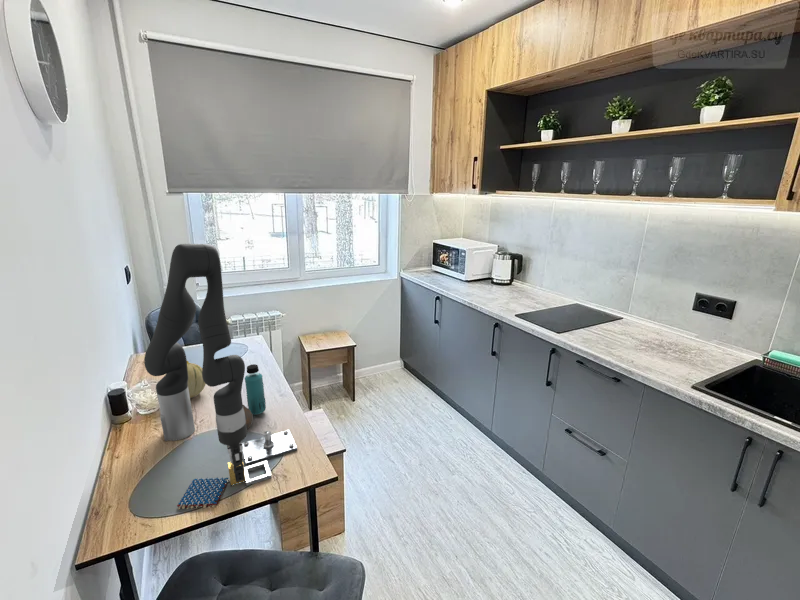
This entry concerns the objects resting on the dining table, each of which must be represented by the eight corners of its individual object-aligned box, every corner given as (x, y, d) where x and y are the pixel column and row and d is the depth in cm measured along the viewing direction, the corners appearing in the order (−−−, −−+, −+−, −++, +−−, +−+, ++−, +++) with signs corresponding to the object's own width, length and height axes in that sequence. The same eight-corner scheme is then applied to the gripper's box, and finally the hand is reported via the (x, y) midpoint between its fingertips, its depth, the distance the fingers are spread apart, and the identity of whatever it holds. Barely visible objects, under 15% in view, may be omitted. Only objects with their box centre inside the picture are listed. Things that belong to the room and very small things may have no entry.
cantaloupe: (165, 409, 149) (159, 374, 144) (170, 391, 161) (164, 359, 157) (208, 401, 154) (203, 367, 150) (209, 384, 167) (204, 353, 163)
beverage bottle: (260, 419, 143) (255, 370, 137) (244, 417, 144) (239, 369, 139) (269, 409, 149) (265, 363, 144) (254, 407, 150) (249, 361, 145)
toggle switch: (245, 465, 119) (243, 449, 117) (241, 445, 128) (239, 430, 127) (297, 450, 127) (296, 434, 125) (289, 432, 136) (288, 417, 134)
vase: (234, 435, 134) (231, 413, 131) (232, 424, 140) (229, 403, 137) (254, 430, 137) (252, 408, 134) (252, 420, 143) (249, 399, 140)
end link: (231, 491, 109) (229, 473, 108) (229, 475, 115) (226, 458, 113) (271, 477, 114) (269, 461, 113) (267, 463, 120) (265, 447, 119)
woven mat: (193, 482, 113) (192, 477, 112) (230, 481, 114) (229, 475, 113) (175, 511, 103) (174, 505, 102) (216, 509, 104) (215, 503, 103)
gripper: (214, 414, 112) (222, 461, 116) (219, 441, 100) (226, 492, 105) (242, 407, 115) (248, 453, 120) (249, 432, 104) (255, 482, 108)
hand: (238, 471), depth 112 cm, fingers open, 8 cm apart
